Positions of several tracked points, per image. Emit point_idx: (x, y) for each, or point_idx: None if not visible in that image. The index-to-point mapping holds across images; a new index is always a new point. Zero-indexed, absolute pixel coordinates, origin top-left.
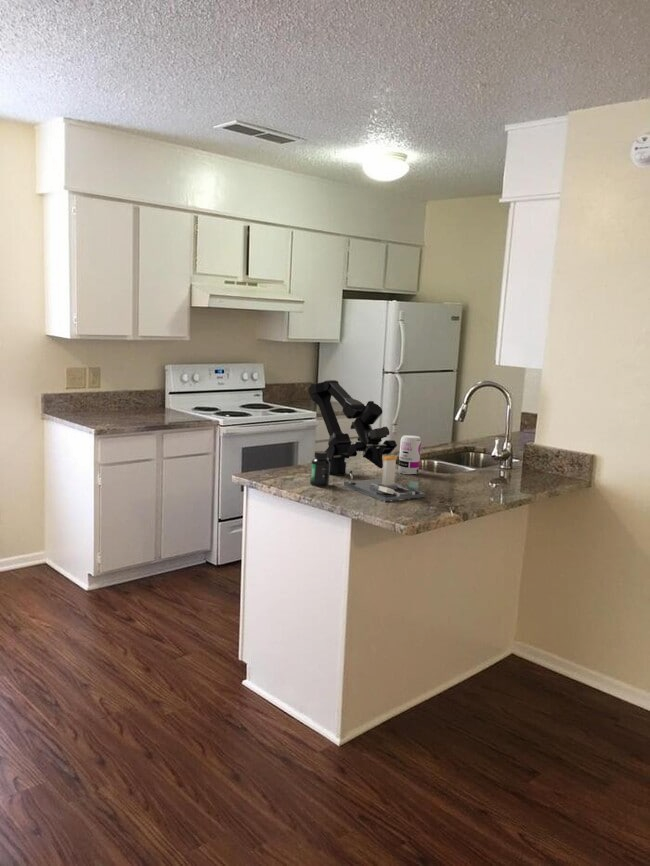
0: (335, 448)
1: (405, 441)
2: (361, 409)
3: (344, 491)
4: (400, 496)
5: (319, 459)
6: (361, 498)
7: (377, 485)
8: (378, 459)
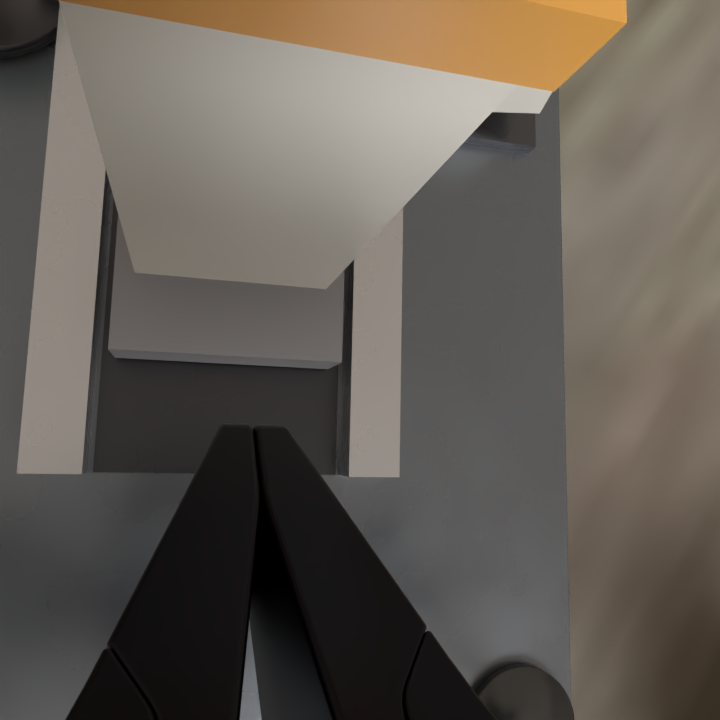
0: None
1: None
2: None
3: (669, 546)
4: None
5: None
6: (659, 222)
7: (366, 341)
8: (344, 588)
